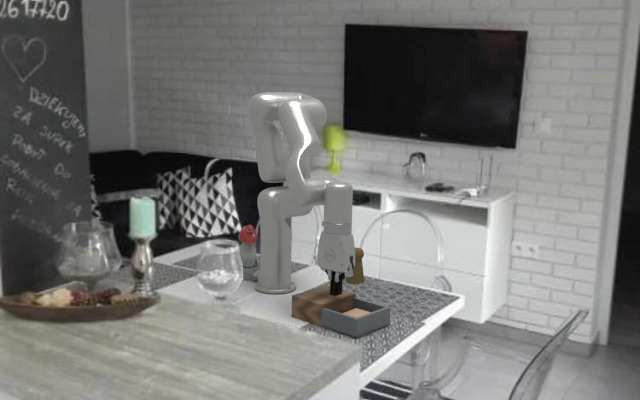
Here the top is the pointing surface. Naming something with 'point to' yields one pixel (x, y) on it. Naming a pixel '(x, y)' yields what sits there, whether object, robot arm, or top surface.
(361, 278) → the cork
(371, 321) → the box
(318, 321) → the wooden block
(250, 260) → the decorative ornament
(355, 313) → the terracotta block
